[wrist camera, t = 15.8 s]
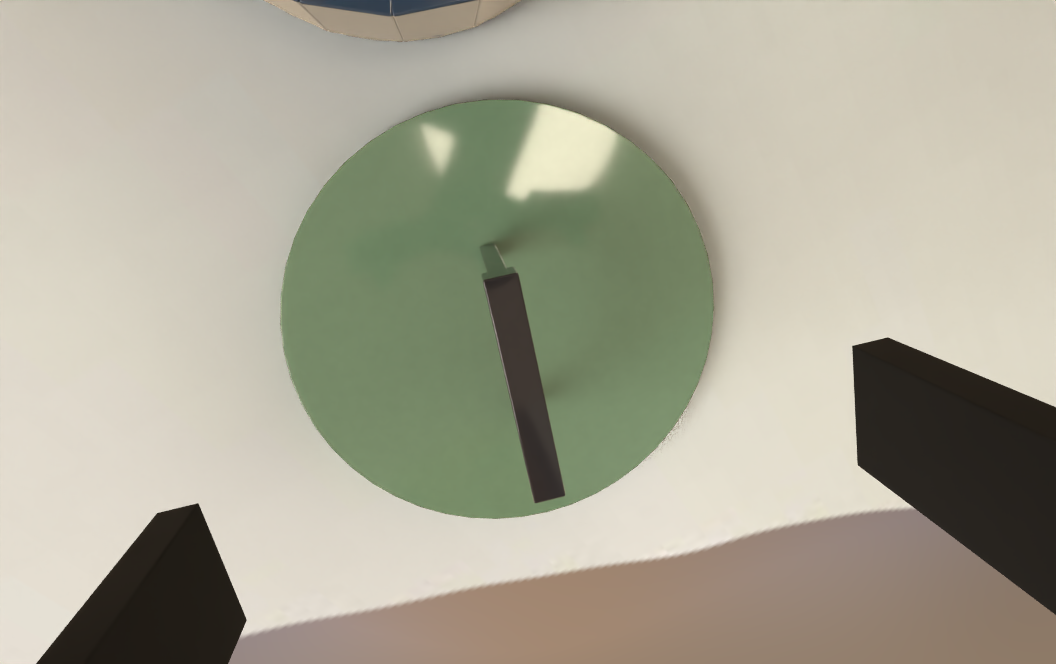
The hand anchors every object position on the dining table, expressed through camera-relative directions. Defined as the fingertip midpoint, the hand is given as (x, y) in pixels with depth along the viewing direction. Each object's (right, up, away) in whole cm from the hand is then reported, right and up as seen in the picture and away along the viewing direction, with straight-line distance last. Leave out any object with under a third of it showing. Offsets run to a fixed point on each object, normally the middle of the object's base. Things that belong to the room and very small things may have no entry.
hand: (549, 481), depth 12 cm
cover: (-1, +3, +15) cm, 16 cm away
